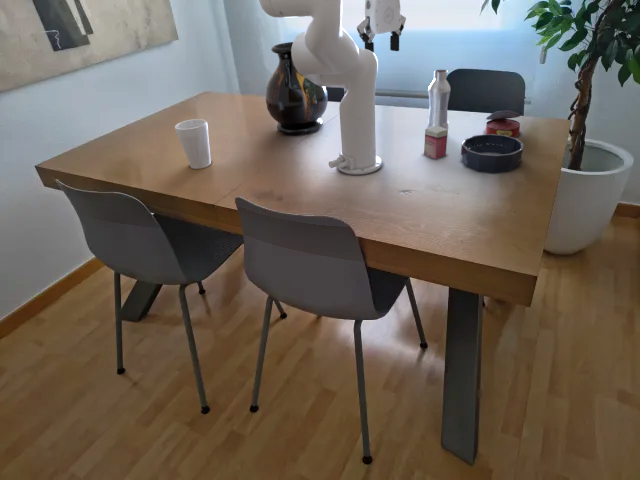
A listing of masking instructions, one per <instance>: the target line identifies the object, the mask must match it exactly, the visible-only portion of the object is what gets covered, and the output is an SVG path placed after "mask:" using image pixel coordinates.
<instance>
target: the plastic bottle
mask: <svg viewBox="0 0 640 480" xmlns="http://www.w3.org/2000/svg"><path fill="white" fill-rule="evenodd" d="M447 78H448V70H447V69H436V70H434V71H433V80H432V82H431V83H430V85H428V89H427V91H428V92H427V93H428V100H429V101H428V103H429V111H428V112H429V113H428V114H429V115H428V120H427V125H426V129H427V128H430V127H433V126H438V127H442V128H444V129H447V130H448V131H449V120H448V106H449V100H450V95H451V89H452V88H451V85H450V83H449V81H448V80H447Z"/></svg>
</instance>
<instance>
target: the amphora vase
mask: <svg viewBox="0 0 640 480" xmlns="http://www.w3.org/2000/svg"><path fill="white" fill-rule="evenodd" d="M292 44H293V41H288V42H283V43H279V44H278V43H277V44H275V45H273V46H271V49H270V51H271V52H272V53H274V54H276V55H277V57H278V65H277V67H276V69H275V70H274V72H273V73H272V74H271V76H270V78H269V80H268V82H267V86H266V91H265V104H266V109H267V112H268V113H269V115H270V117H271V118H272V119H273V120H274V121H276V122H277V126H276V129H277V131H278V132H280V133H281V134H285V135H288V136H303V135H307V134H311V133H314V132H316V131H318V130H319V129H321V127H322V126H323V123H324V122H323V120H322V117H323V115H324V114H325V112H326V110H327V107H328V104H329V103H328V102H329V101H328V90H327V87H321V86H318V85H316V84H314V83H313V82H311V81H310V80H308V79H307V78H305V77H304V76H303V75H301V74H300V73H299V72H298V71H297V69H296V68H295V66H294V63H293V60H292V54H291V49H292Z"/></svg>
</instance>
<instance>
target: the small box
mask: <svg viewBox="0 0 640 480" xmlns="http://www.w3.org/2000/svg"><path fill="white" fill-rule="evenodd" d="M448 134H449V129H448V130H447V129H444V128H442V127H438V126H433V127H430V128H427V127H426V128H425V130H424V145H423V148H424V149H423V155H424V156H426V157H429V158H432V159H434V160H436V159H440V158H442V157H445V156H447V146H448Z"/></svg>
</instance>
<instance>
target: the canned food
mask: <svg viewBox="0 0 640 480" xmlns="http://www.w3.org/2000/svg"><path fill="white" fill-rule="evenodd" d="M520 117H521V114H520V113H518V112H517V111H516V112H515V111H513V110H507V109H505V110H504V109H503V110H496V111H494V112H493V113H491V114H490V115H488V116H487V117H486V118H485V120H488V121H487V122H486V123H485V124H486V125H485V131H484V133H485V134H495V135H505V136H509V137H513V138H516V137H518V136H519V134H520V128H521V122H520V121H518V120H516V119H517V118H520ZM485 134H484V135H485Z"/></svg>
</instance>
